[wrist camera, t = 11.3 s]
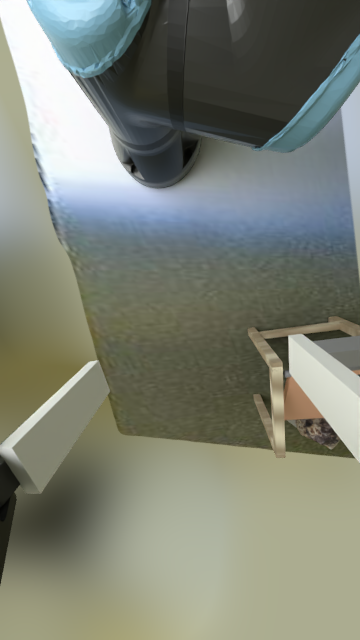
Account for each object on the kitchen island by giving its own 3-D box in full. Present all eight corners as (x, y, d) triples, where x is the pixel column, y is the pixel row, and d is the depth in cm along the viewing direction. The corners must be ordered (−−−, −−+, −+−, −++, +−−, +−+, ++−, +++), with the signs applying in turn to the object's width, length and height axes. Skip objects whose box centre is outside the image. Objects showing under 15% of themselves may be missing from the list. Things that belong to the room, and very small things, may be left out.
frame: (247, 328, 41) (271, 363, 27) (336, 316, 38) (413, 348, 24) (253, 399, 47) (276, 457, 33) (331, 393, 44) (392, 454, 30)
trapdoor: (281, 344, 27) (289, 359, 25) (390, 331, 25) (408, 346, 23) (271, 407, 39) (275, 420, 37) (344, 402, 37) (354, 415, 35)
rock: (358, 402, 35) (363, 451, 36) (308, 380, 47) (313, 417, 47) (316, 412, 34) (322, 463, 35) (275, 387, 46) (280, 426, 46)
